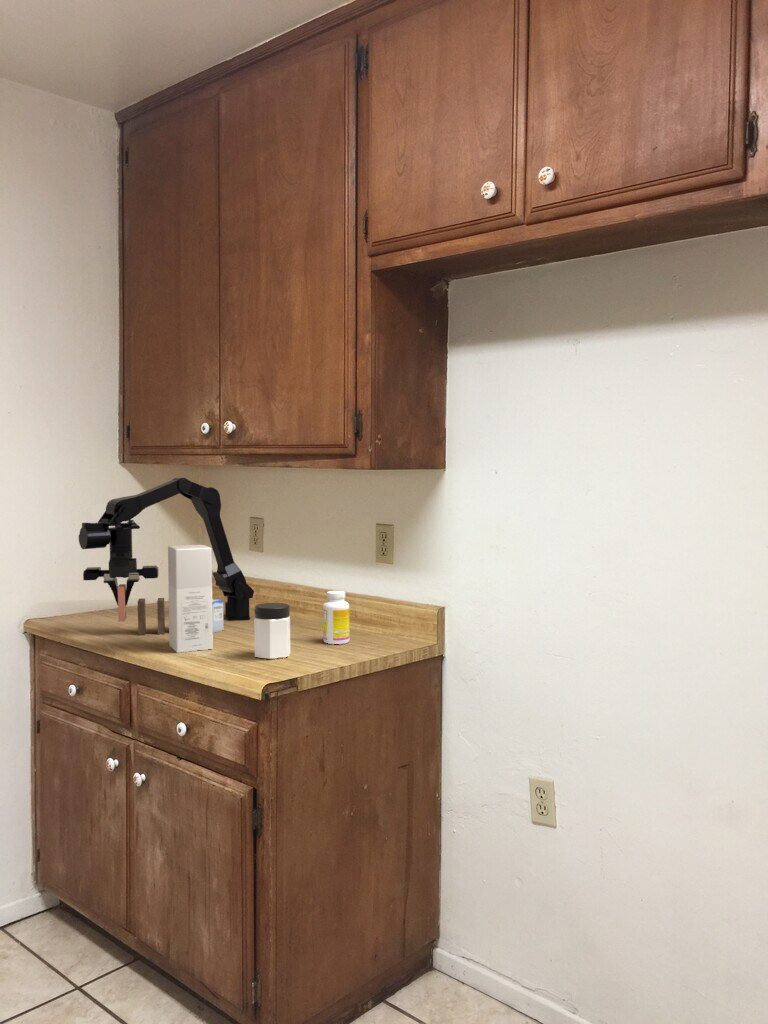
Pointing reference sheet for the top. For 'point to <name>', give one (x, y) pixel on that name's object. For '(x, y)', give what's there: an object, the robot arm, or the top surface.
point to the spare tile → (121, 602)
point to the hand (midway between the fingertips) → (122, 605)
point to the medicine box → (217, 615)
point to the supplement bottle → (336, 618)
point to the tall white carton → (190, 598)
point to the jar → (272, 630)
